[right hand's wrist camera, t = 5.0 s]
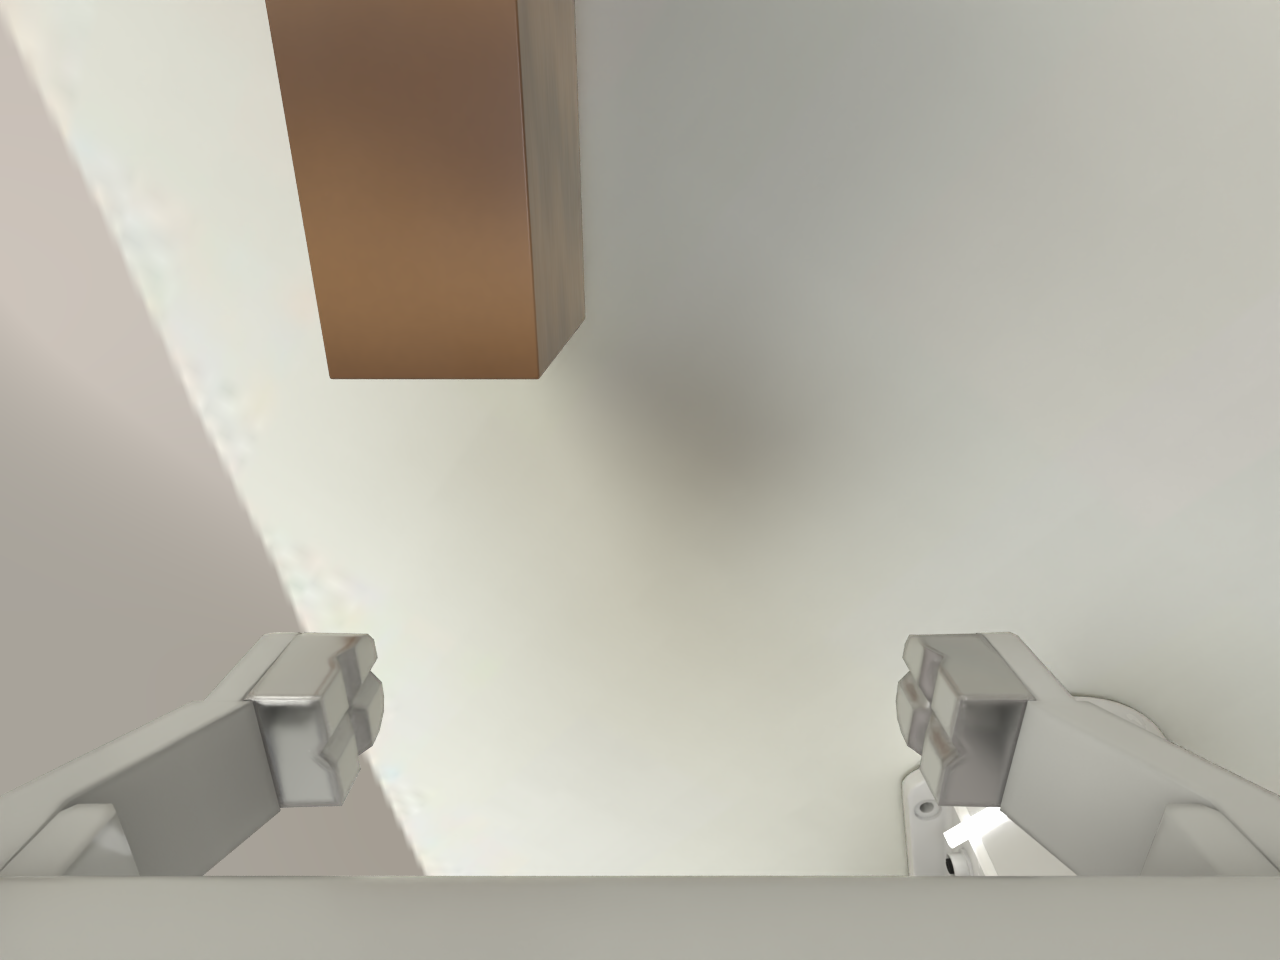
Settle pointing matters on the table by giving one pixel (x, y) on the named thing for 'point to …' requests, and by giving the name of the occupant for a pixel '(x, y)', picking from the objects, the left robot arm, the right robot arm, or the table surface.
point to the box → (436, 181)
